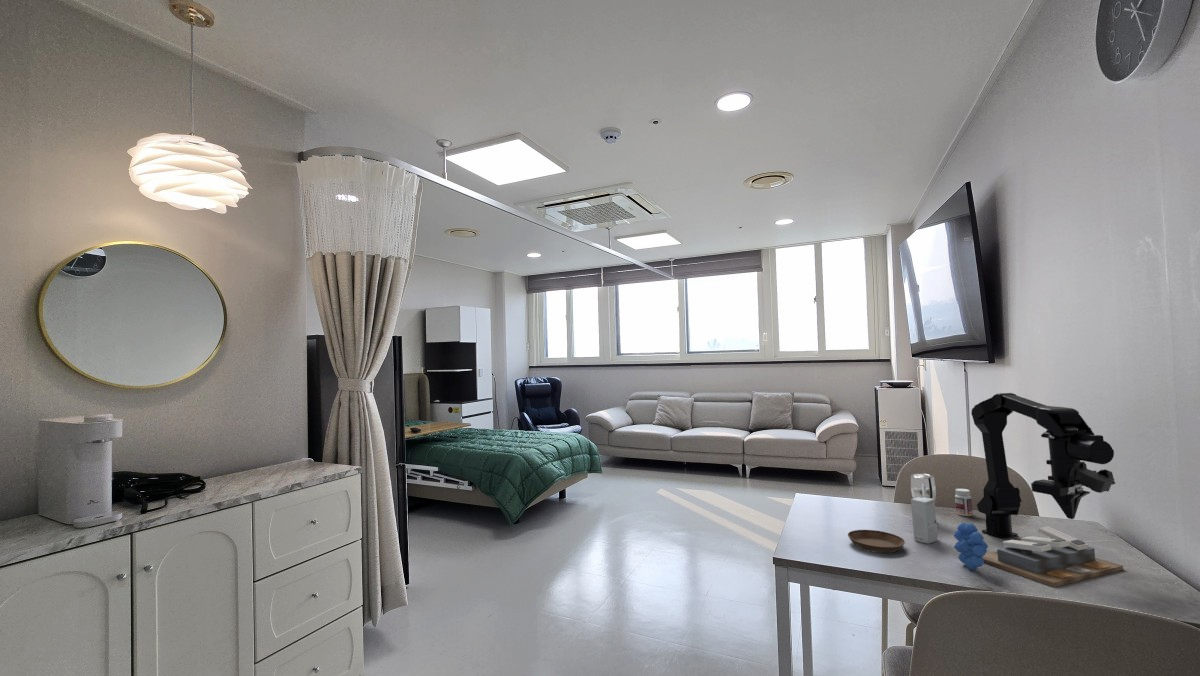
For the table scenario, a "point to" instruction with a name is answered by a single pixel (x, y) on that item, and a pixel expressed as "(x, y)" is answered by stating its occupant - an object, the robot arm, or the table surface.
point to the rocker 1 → (1027, 545)
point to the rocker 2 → (1059, 535)
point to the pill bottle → (963, 502)
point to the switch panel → (1051, 578)
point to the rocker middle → (1047, 541)
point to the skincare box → (924, 520)
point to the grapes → (970, 545)
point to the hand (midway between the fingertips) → (1070, 518)
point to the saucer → (876, 540)
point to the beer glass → (923, 486)
